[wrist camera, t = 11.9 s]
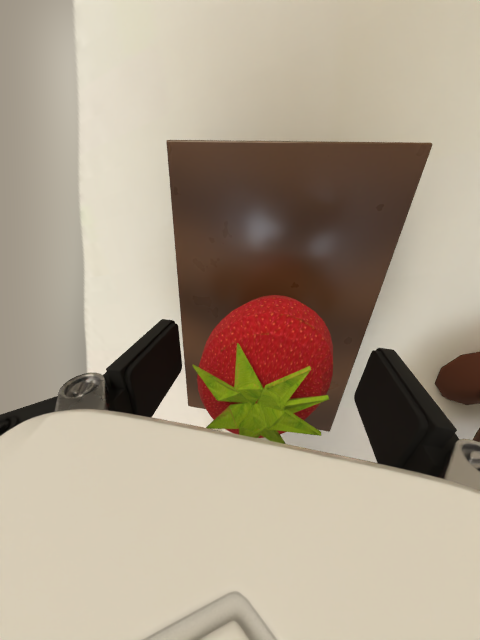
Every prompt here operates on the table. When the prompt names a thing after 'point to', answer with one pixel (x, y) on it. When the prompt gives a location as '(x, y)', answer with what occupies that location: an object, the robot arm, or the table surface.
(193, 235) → the panel
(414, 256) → the table surface
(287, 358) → the strawberry
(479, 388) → the ice cream bowl
